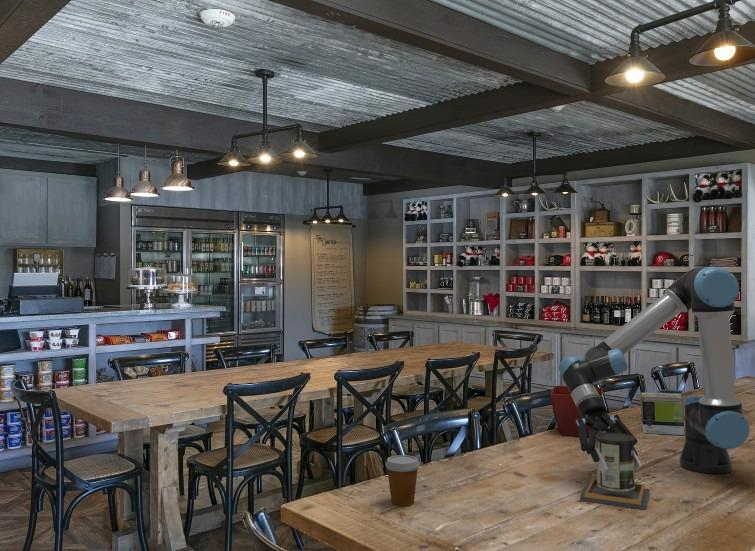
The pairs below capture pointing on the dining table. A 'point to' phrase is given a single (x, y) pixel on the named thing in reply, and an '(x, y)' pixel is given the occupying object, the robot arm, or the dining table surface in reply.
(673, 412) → the tea box
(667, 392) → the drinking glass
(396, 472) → the disposable coffee cup
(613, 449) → the coffee can
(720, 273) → the robot arm
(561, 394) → the plant pot
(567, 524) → the dining table surface
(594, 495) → the mount plate
